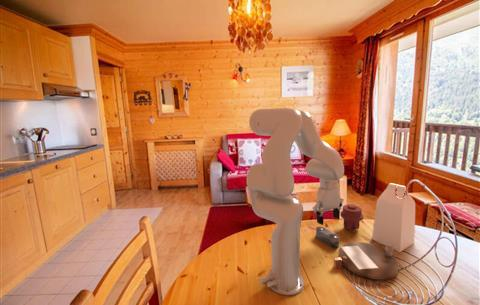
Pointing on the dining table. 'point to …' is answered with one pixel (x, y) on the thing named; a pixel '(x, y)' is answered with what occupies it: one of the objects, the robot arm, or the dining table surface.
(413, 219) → the milk
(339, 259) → the wheel stand
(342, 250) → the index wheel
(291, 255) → the robot arm
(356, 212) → the mechanical component
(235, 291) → the dining table surface
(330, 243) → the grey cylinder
